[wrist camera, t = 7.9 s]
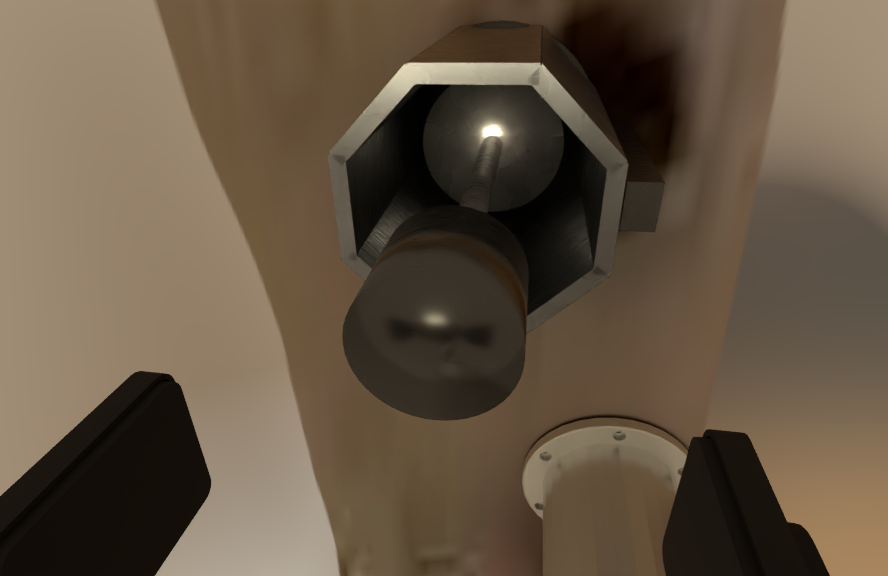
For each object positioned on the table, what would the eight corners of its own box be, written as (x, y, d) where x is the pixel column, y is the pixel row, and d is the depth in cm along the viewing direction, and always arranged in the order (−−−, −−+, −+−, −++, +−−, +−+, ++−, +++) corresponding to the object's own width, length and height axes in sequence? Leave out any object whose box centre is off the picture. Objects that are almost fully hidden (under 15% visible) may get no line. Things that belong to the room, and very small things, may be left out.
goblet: (557, 209, 27) (571, 473, 13) (427, 204, 28) (309, 444, 14) (570, 69, 23) (609, 217, 9) (422, 68, 24) (259, 202, 10)
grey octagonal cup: (607, 217, 30) (641, 350, 20) (411, 209, 32) (345, 327, 21) (636, 19, 25) (703, 55, 15) (400, 21, 27) (308, 55, 16)
